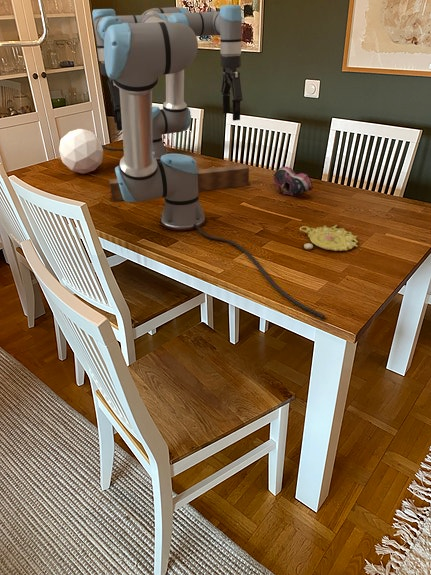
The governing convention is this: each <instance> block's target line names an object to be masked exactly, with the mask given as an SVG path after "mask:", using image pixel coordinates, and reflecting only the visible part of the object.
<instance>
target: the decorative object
mask: <svg viewBox="0 0 431 575" xmlns="http://www.w3.org/2000/svg"><path fill="white" fill-rule="evenodd" d="M303 228H304V229H305V230H304V229H303ZM299 231H300V232H303V233H305V234H307V237H308V238H309V240H310V241H311V243H304V244H303V248H304V249H305V250H313V249H314V245H315V246H316V247H318V248H321V249H324V250H328V251H335V252H341V251H348V250H352V249H354V247H356V248H358V247H359V245H358V244H357V243H359V240H357V238H359V237H358V235H353V234H352V231H347V230H346V229H345V228H344V227H342V228H338V224H335V225H333V226H331V227H328V226H327V225H326V224H325V225H323V226H322V227H321V226H317V227H316V228H314V227H309V226H308V225H302V226H300V227H299ZM313 244H314V245H313Z"/></svg>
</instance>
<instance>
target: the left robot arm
mask: <svg viewBox="0 0 431 575" xmlns="http://www.w3.org/2000/svg"><path fill="white" fill-rule="evenodd" d="M154 14H163V15H166V17H167V19H168V21H169V22H180V23H183V24H185V25H187V26H189V27H190V28H191V29H192V30H193V31H194V33H195V35H196V37H211V36H212V37H213V36H220V37H219V38H220V40H219V42H220V43H219V45H220V46H219V47H220V48H219V50H220V52H219V53H220V55H221V56H220V68H222V79H221V86H220V87H221V88H220V92H221V94H222V114H230V113H231V103H232V121H241V102H242V101H243V93H242V85H241V72H240V71H237V70H238V69H239V68H241V67H242V56H241V54H242V48H243V46H244V45H243V44H242V27H243V26H242V25H243V24H242V23H243V22H242V21H243V17H242V7H241V5H240V4H222V5H221V6H219V11H217V10H214V11H213V10H211V11H199V12H198V11H197V12H190V11H189V10H188V9H187V8H186V7H179V6H172V7H171V6H170V7H153V8H149V9H147V10H144V12H143V13H142V14H141V15H154ZM237 68H238V69H237ZM231 96H232V100H231ZM191 123H192V114H191V110H190V108H189V107H188V105H187V102H185V69H184V70H182V71H180V72H177V73H174V74H165V101H164V102H163V103H162V108H160V106H152V154H153V157H154V158H155V159H156V161H157V162H158V161H161V160H160V159H161V156H162V155H165V154H168V151H167V149H166V146H165V144H164V141H163V135H169V134H175V133H181V132H186V131H187V130H189V128H190V127H191ZM101 145H102V148H105V149H107V150H110V151H123V152H124V148H115V147H108V146H107V145H104V144H102V143H101Z"/></svg>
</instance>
